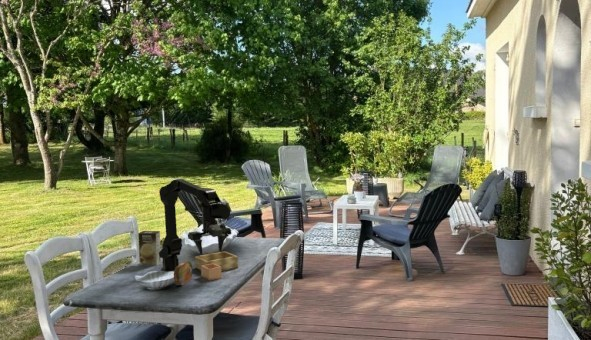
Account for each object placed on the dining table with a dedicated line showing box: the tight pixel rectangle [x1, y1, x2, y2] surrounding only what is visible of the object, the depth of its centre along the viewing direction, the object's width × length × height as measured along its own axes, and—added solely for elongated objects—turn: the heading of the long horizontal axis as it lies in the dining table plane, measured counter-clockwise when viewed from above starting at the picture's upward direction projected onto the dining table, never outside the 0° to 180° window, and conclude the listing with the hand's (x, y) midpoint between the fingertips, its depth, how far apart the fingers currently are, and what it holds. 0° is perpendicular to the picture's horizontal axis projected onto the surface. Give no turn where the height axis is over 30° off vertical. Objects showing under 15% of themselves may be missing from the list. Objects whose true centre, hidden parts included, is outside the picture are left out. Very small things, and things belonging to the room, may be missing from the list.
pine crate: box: [194, 251, 239, 272], centre depth 261 cm, size 16×13×6 cm
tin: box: [173, 261, 194, 286], centre depth 239 cm, size 15×3×8 cm, turn 168°
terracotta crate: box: [200, 264, 223, 281], centre depth 246 cm, size 6×8×5 cm
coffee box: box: [138, 230, 162, 266], centre depth 272 cm, size 9×6×16 cm
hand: (210, 252), depth 245 cm, fingers open, 9 cm apart
